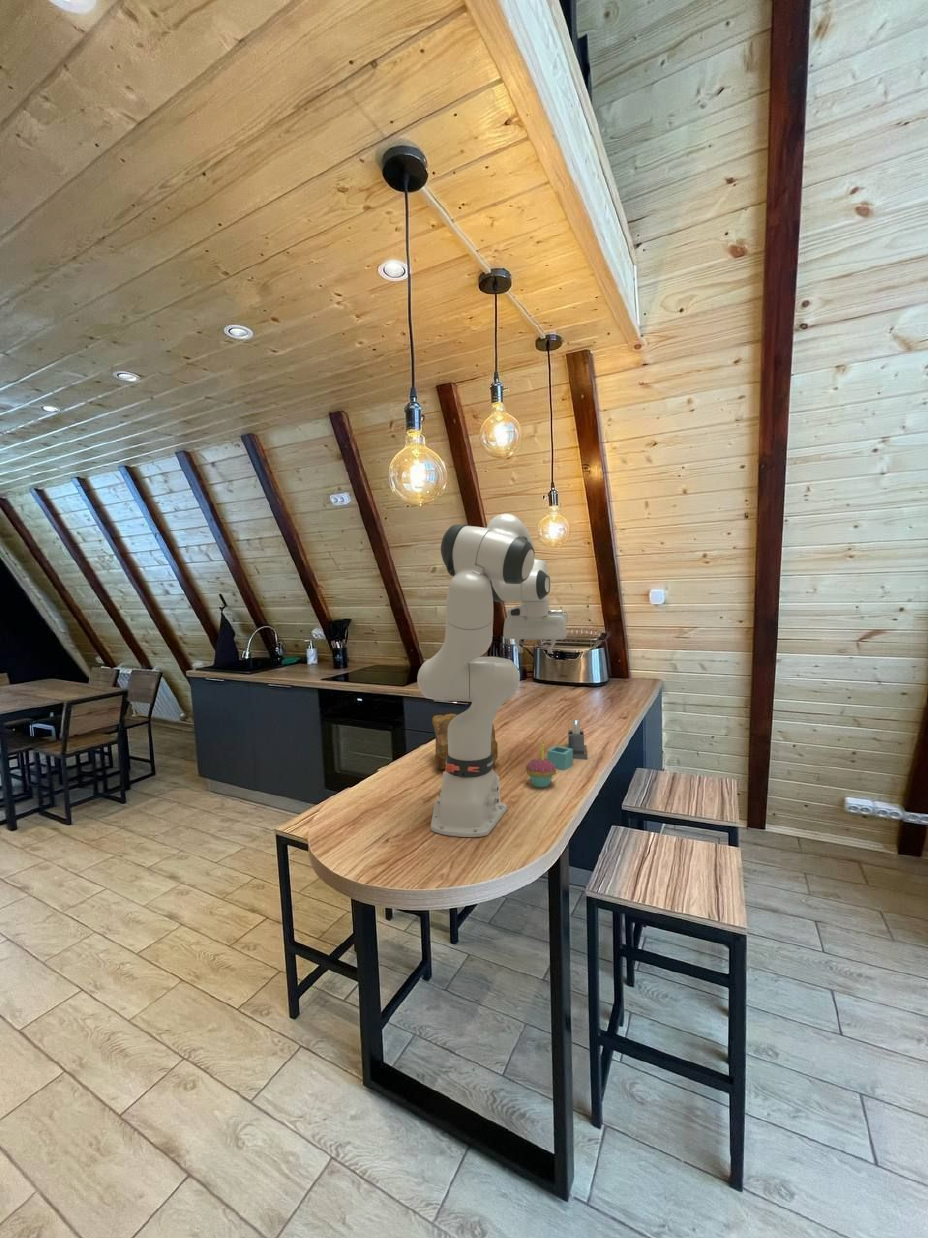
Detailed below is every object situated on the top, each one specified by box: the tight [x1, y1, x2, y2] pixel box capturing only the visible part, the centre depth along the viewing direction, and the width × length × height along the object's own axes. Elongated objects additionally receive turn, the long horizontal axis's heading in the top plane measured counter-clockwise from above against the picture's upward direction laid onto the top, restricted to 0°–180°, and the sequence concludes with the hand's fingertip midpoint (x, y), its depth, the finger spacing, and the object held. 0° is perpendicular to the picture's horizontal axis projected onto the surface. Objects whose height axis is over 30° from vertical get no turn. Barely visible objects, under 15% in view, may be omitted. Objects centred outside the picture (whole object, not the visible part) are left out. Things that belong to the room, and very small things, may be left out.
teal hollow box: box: [546, 745, 574, 771], centre depth 155 cm, size 6×6×5 cm
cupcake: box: [525, 740, 557, 788], centre depth 140 cm, size 9×8×12 cm
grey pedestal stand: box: [565, 718, 588, 760], centre depth 167 cm, size 13×7×12 cm, turn 168°
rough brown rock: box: [431, 713, 499, 770], centre depth 155 cm, size 23×17×15 cm
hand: (535, 653), depth 158 cm, fingers open, 8 cm apart
